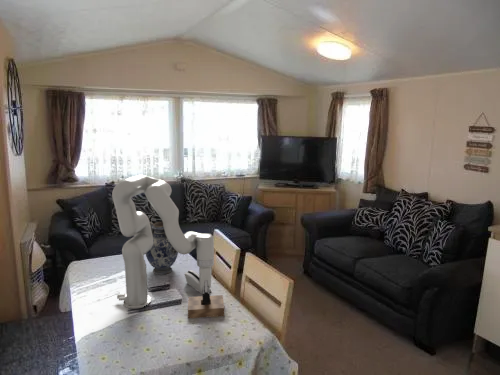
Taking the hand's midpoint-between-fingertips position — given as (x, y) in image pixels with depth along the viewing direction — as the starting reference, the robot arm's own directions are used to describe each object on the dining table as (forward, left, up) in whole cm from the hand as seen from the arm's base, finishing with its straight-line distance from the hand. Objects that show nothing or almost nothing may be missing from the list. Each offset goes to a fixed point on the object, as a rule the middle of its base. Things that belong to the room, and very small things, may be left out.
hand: (206, 299), depth 174 cm
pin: (0, 0, -2) cm, 2 cm away
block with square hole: (0, 0, -5) cm, 6 cm away
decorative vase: (-24, +47, -6) cm, 53 cm away
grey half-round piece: (-4, +23, -6) cm, 24 cm away
